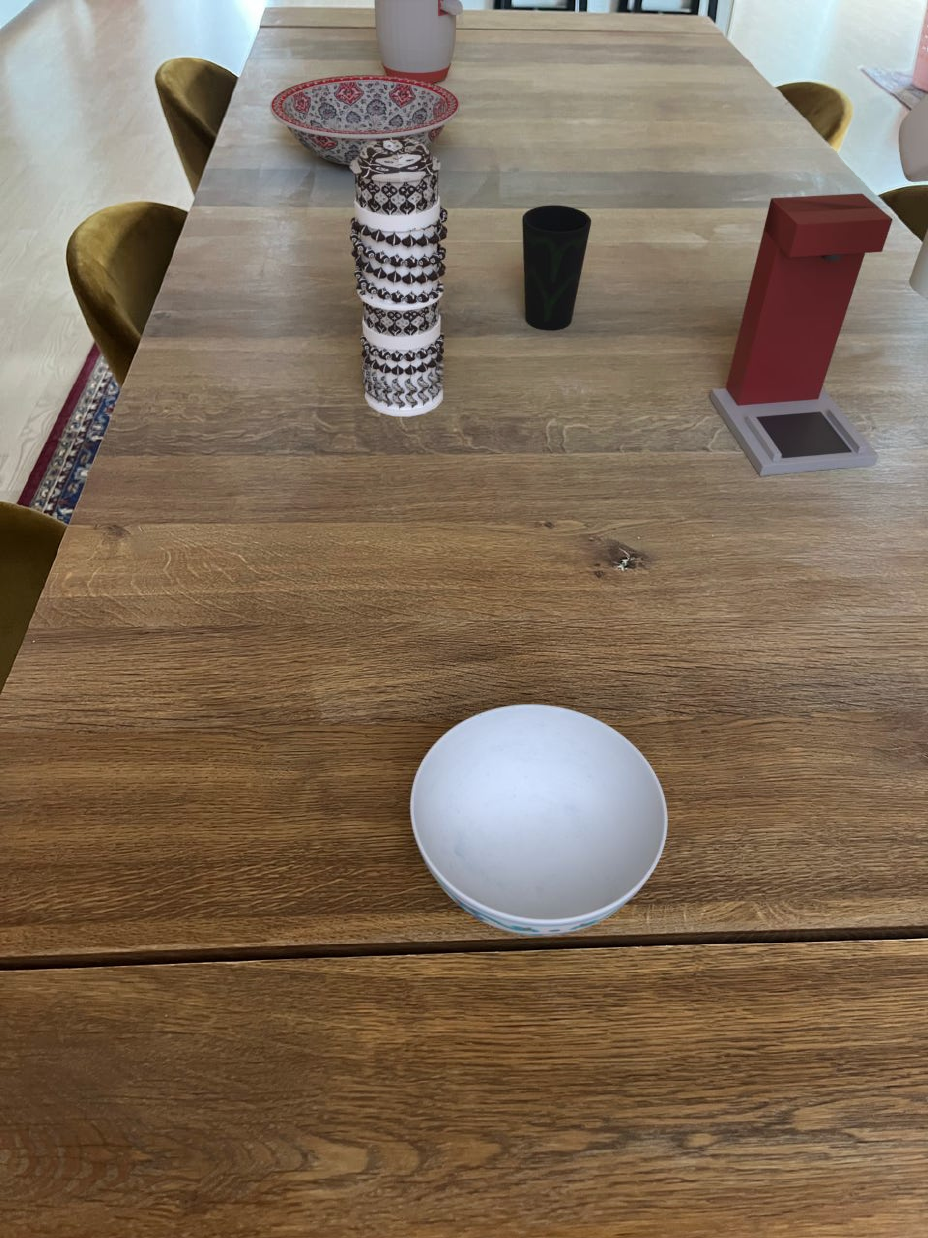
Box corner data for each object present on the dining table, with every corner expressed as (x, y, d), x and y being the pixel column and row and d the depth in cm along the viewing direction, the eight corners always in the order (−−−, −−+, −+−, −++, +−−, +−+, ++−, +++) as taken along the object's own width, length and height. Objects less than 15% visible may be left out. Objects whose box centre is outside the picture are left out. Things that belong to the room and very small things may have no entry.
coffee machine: (874, 465, 93) (956, 256, 78) (759, 476, 91) (821, 264, 76) (814, 390, 102) (877, 192, 88) (709, 398, 101) (755, 198, 86)
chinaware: (452, 752, 67) (453, 681, 62) (663, 806, 64) (683, 735, 59) (379, 944, 57) (372, 878, 51) (625, 1017, 54) (645, 956, 48)
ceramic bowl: (495, 167, 148) (497, 112, 142) (331, 206, 136) (327, 148, 131) (398, 116, 165) (396, 64, 159) (245, 146, 153) (238, 92, 147)
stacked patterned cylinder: (454, 415, 98) (456, 162, 80) (365, 422, 97) (347, 167, 79) (441, 370, 104) (440, 127, 87) (357, 376, 103) (339, 131, 85)
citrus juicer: (434, 96, 173) (434, -34, 159) (359, 79, 180) (352, -47, 166) (480, 76, 183) (483, -49, 169) (407, 60, 189) (404, -61, 175)
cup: (548, 341, 109) (556, 238, 101) (503, 317, 113) (508, 216, 105) (593, 320, 113) (605, 220, 104) (548, 298, 117) (556, 199, 108)
